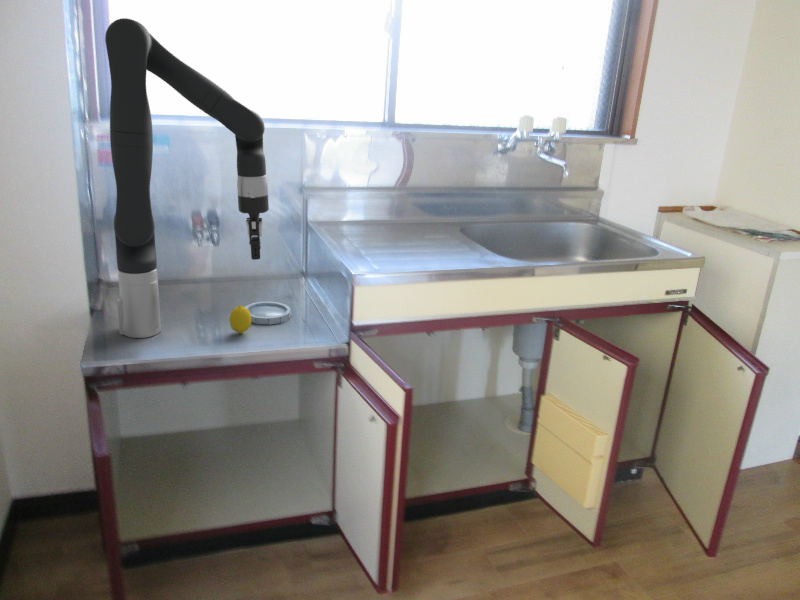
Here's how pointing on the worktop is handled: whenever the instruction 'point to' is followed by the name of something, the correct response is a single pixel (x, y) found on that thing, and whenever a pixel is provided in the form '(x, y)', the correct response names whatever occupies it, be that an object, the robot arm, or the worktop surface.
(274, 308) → the dish
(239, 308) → the lemon
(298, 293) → the worktop surface
